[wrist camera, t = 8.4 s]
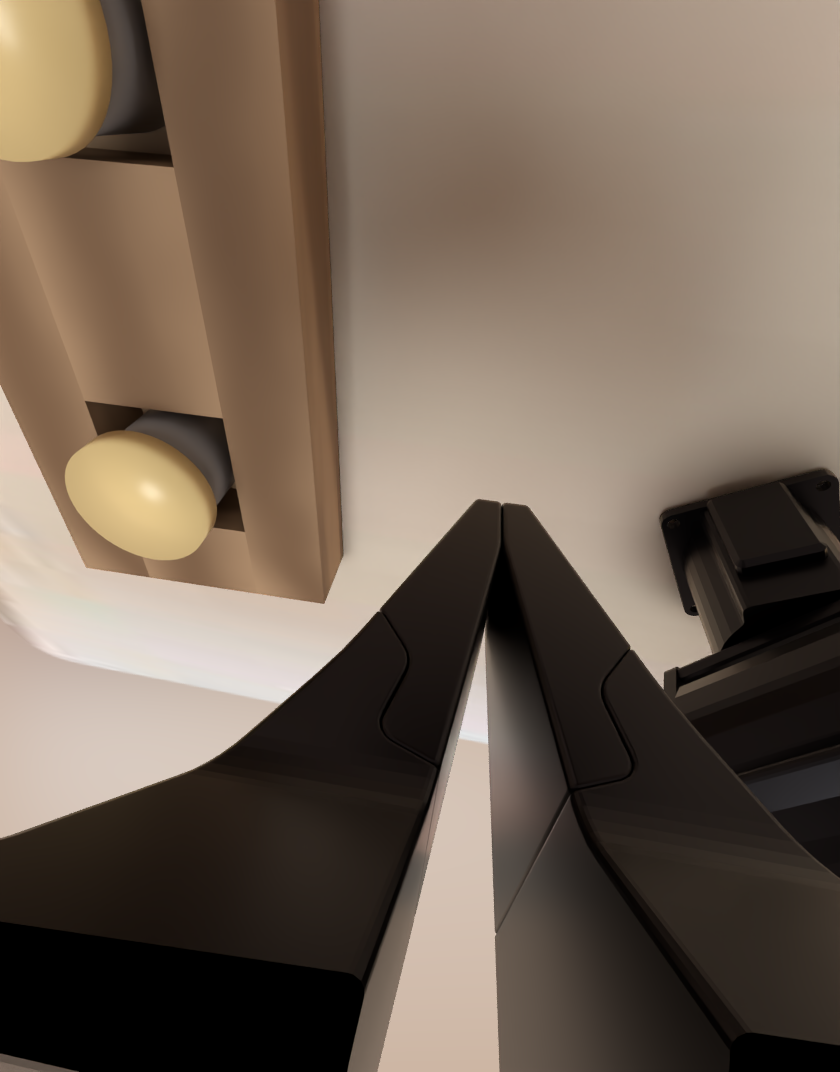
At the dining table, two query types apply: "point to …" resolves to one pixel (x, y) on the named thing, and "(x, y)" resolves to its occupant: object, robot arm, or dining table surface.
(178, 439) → the inner button
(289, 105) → the socket block
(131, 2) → the outer button
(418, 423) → the dining table surface
